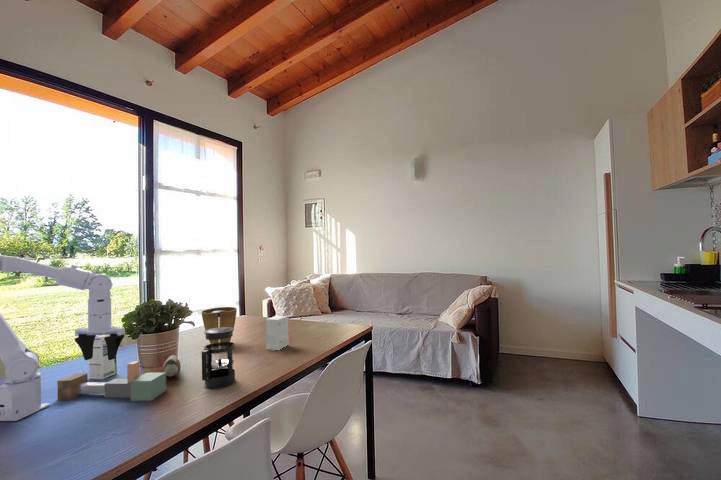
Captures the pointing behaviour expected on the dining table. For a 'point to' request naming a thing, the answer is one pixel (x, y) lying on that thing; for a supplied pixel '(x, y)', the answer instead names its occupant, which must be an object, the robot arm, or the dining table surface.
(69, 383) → the brown wooden block
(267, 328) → the small box
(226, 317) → the plant pot
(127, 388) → the stand with post
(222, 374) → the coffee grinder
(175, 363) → the decorative bird
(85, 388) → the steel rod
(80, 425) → the dining table surface
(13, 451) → the dining table surface
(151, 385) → the socket block
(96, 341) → the syrup box
